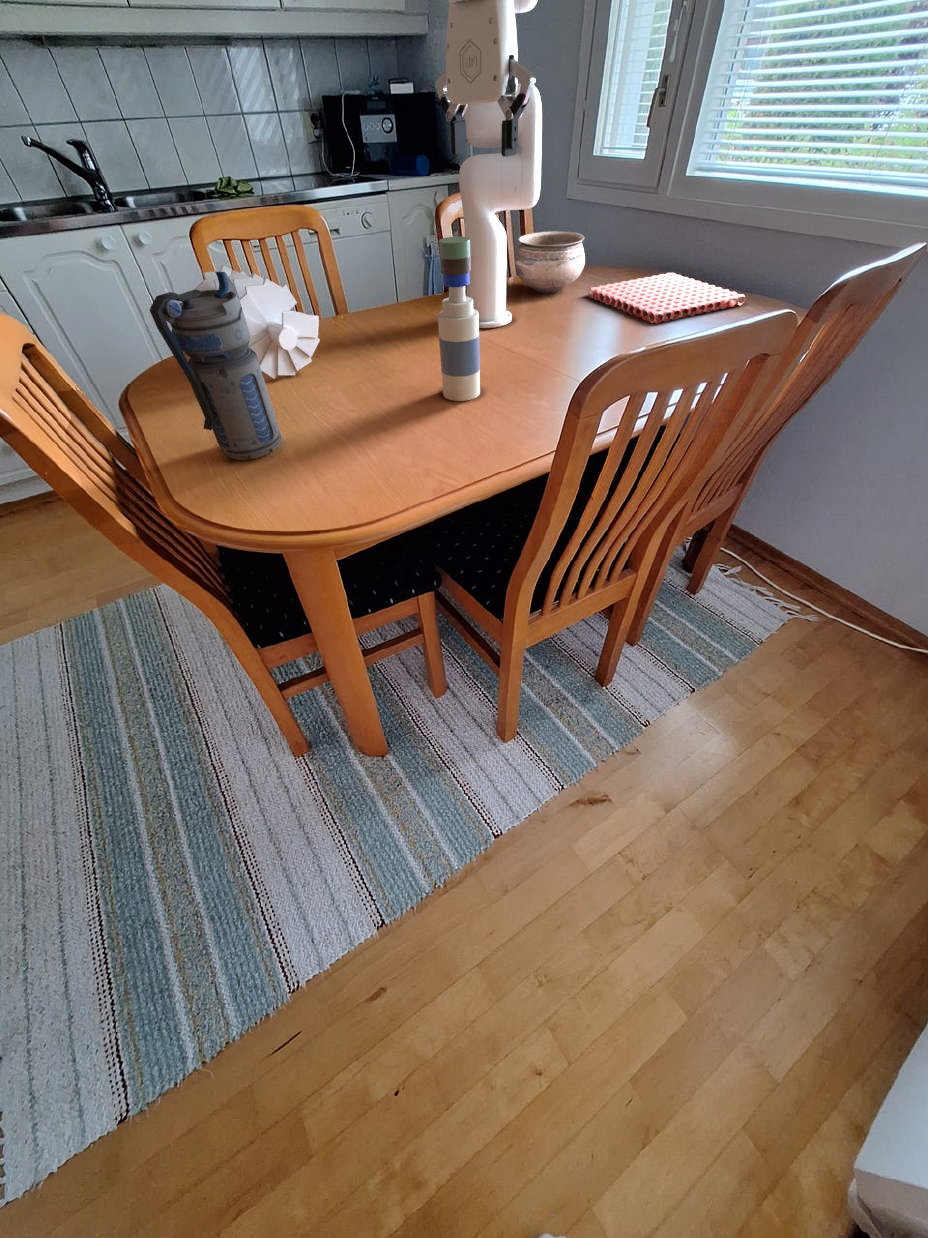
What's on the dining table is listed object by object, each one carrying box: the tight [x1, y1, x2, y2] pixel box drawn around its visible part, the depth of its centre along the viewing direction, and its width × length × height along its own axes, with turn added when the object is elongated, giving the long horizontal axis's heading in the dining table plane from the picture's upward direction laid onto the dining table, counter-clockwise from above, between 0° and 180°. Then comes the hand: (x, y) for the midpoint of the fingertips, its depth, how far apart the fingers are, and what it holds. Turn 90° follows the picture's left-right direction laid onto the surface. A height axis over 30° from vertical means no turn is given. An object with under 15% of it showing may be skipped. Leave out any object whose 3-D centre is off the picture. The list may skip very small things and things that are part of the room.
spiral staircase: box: [193, 264, 321, 380], centre depth 111 cm, size 18×18×25 cm
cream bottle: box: [437, 273, 481, 402], centre depth 96 cm, size 7×7×20 cm
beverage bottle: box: [149, 270, 282, 461], centre depth 81 cm, size 10×13×25 cm
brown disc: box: [439, 256, 471, 275], centre depth 87 cm, size 5×5×2 cm
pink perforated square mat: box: [587, 272, 746, 324], centre depth 138 cm, size 28×28×2 cm
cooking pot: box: [514, 230, 586, 295], centre depth 145 cm, size 25×19×12 cm
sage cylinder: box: [438, 236, 470, 260], centre depth 86 cm, size 5×5×2 cm
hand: (483, 154), depth 83 cm, fingers open, 9 cm apart
